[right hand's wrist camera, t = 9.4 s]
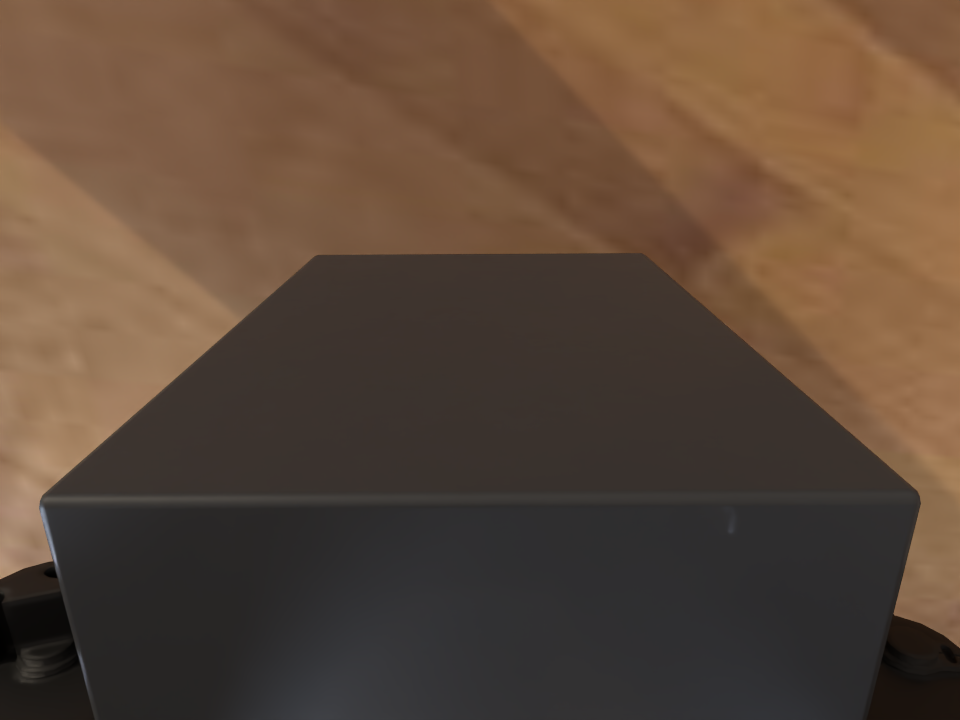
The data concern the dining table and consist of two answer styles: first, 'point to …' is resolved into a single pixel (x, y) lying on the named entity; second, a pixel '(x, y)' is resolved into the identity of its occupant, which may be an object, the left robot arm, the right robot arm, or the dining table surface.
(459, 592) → the charcoal box
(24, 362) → the dining table surface
